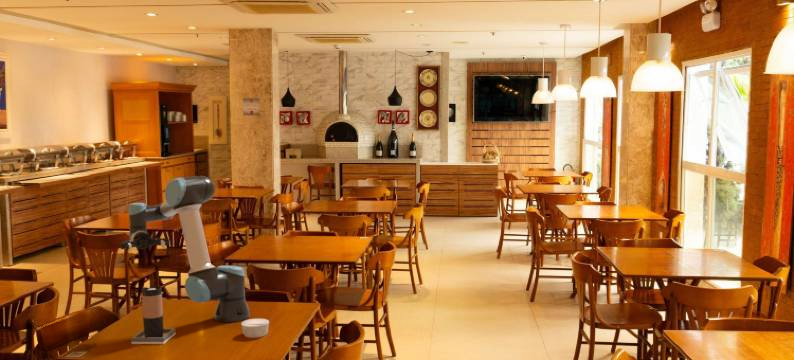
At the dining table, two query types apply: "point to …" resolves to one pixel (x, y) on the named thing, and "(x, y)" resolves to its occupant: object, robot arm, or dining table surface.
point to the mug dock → (142, 339)
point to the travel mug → (152, 311)
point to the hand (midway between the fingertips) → (147, 246)
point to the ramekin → (255, 327)
